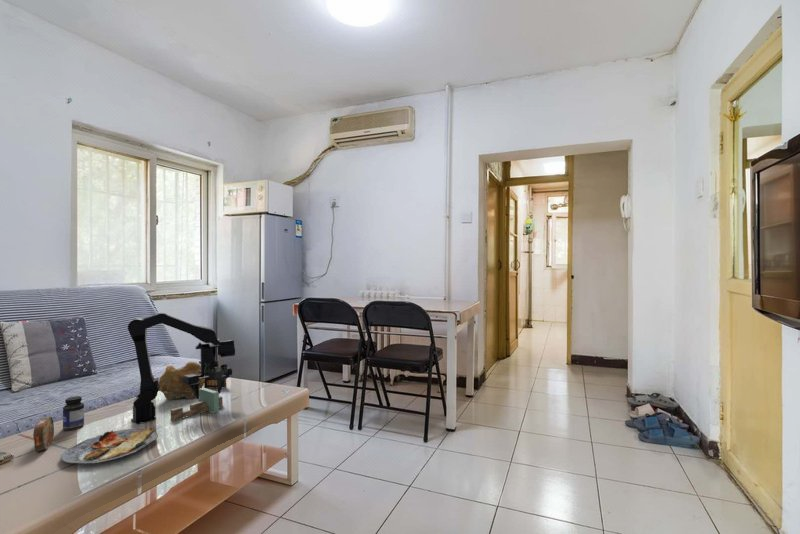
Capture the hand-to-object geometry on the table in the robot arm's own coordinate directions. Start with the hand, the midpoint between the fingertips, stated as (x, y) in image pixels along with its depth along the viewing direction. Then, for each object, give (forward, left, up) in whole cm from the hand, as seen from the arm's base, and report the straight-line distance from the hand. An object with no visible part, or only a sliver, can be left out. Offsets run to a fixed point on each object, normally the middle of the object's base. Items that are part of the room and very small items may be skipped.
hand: (208, 396), depth 163 cm
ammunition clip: (+19, +30, -6) cm, 36 cm away
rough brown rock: (+4, +28, -6) cm, 29 cm away
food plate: (-38, -11, -6) cm, 40 cm away
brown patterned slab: (-49, +12, -6) cm, 51 cm away
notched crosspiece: (0, 0, -6) cm, 6 cm away
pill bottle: (-39, +24, -6) cm, 46 cm away
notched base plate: (-5, 0, -6) cm, 7 cm away
